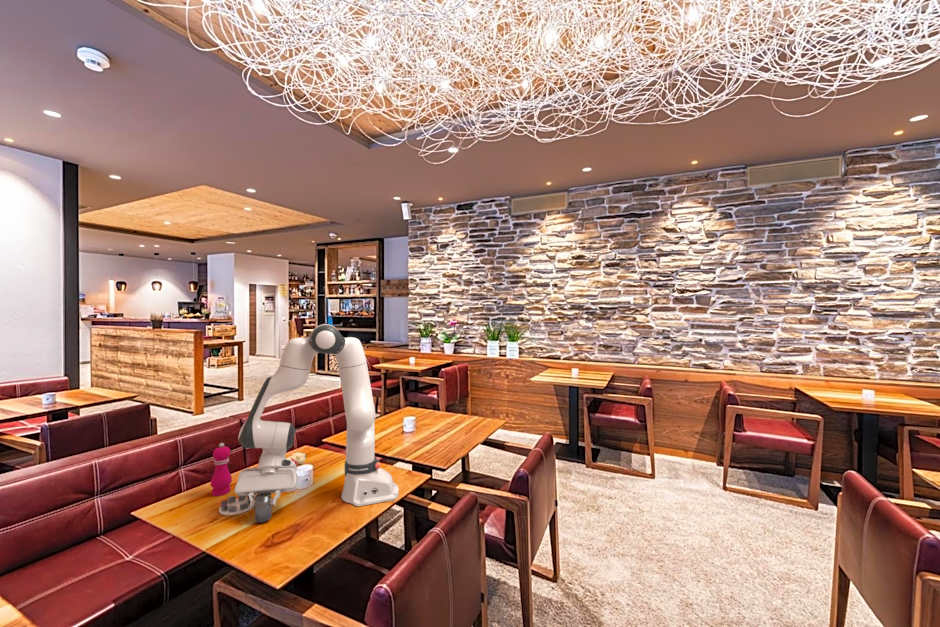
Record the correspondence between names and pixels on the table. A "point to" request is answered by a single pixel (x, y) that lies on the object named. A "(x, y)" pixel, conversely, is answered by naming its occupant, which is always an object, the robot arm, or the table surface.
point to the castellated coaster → (235, 505)
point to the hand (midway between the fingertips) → (262, 505)
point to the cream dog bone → (297, 458)
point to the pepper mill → (221, 471)
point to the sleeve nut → (262, 507)
